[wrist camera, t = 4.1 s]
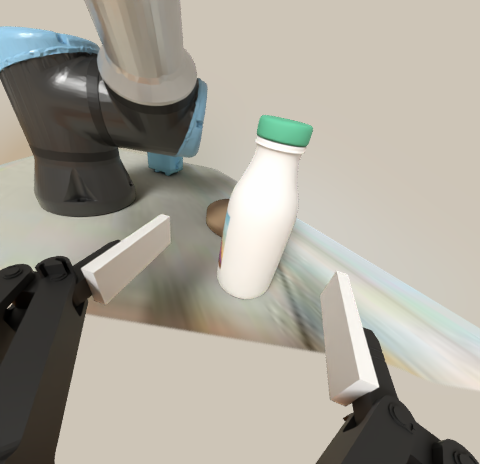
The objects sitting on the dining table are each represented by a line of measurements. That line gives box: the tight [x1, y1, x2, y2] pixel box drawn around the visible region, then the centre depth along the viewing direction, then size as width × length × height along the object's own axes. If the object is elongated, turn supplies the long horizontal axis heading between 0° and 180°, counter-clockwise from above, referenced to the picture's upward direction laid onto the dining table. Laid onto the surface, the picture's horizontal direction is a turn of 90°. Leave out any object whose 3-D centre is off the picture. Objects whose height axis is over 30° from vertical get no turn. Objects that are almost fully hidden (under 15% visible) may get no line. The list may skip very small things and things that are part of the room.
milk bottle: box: [217, 115, 313, 299], centre depth 21 cm, size 8×8×20 cm
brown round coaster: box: [206, 199, 230, 237], centre depth 39 cm, size 14×14×2 cm
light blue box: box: [147, 152, 183, 176], centre depth 54 cm, size 12×6×8 cm, turn 70°
